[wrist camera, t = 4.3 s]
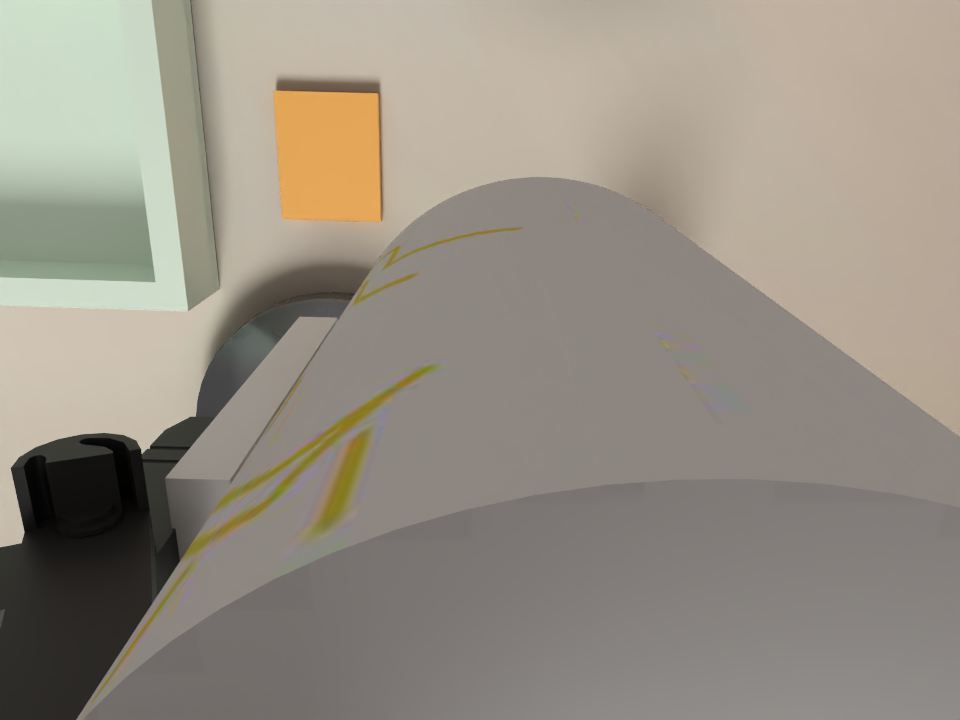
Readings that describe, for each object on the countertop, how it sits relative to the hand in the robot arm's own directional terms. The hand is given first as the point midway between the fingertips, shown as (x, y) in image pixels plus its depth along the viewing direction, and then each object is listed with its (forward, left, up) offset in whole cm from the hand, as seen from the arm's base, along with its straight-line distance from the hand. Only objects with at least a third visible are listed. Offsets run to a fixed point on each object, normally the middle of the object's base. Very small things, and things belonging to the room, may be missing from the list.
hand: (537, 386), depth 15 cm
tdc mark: (-7, +3, -13) cm, 15 cm away
